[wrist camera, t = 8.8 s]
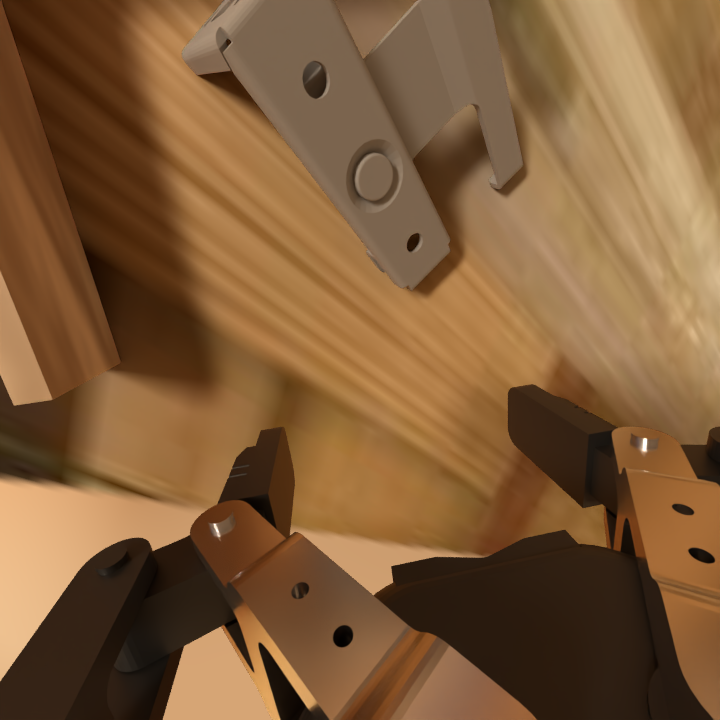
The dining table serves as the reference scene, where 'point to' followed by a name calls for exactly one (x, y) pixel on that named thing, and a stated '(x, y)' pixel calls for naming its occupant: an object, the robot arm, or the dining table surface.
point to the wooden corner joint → (41, 258)
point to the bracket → (369, 106)
